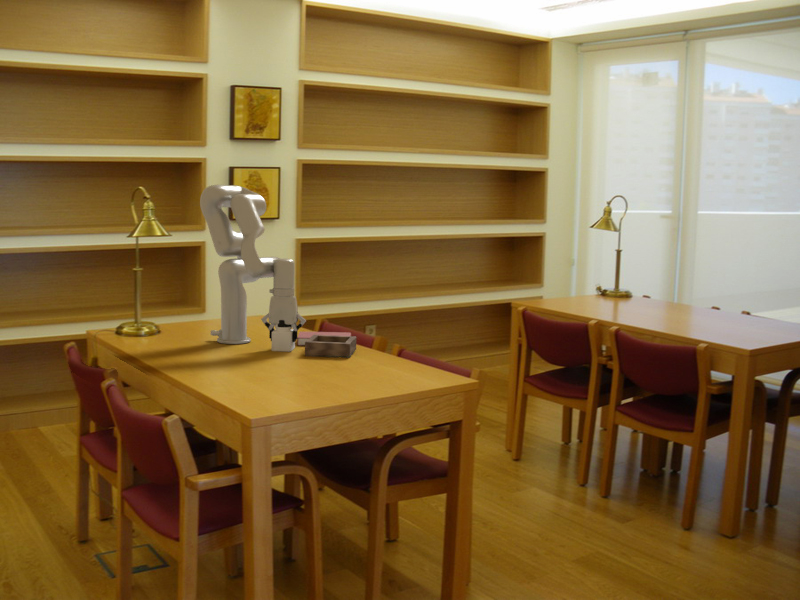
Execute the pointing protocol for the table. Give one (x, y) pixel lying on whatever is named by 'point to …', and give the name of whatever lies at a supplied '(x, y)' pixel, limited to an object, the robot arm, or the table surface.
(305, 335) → the pink flat slab
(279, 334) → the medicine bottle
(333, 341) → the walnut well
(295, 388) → the table surface
